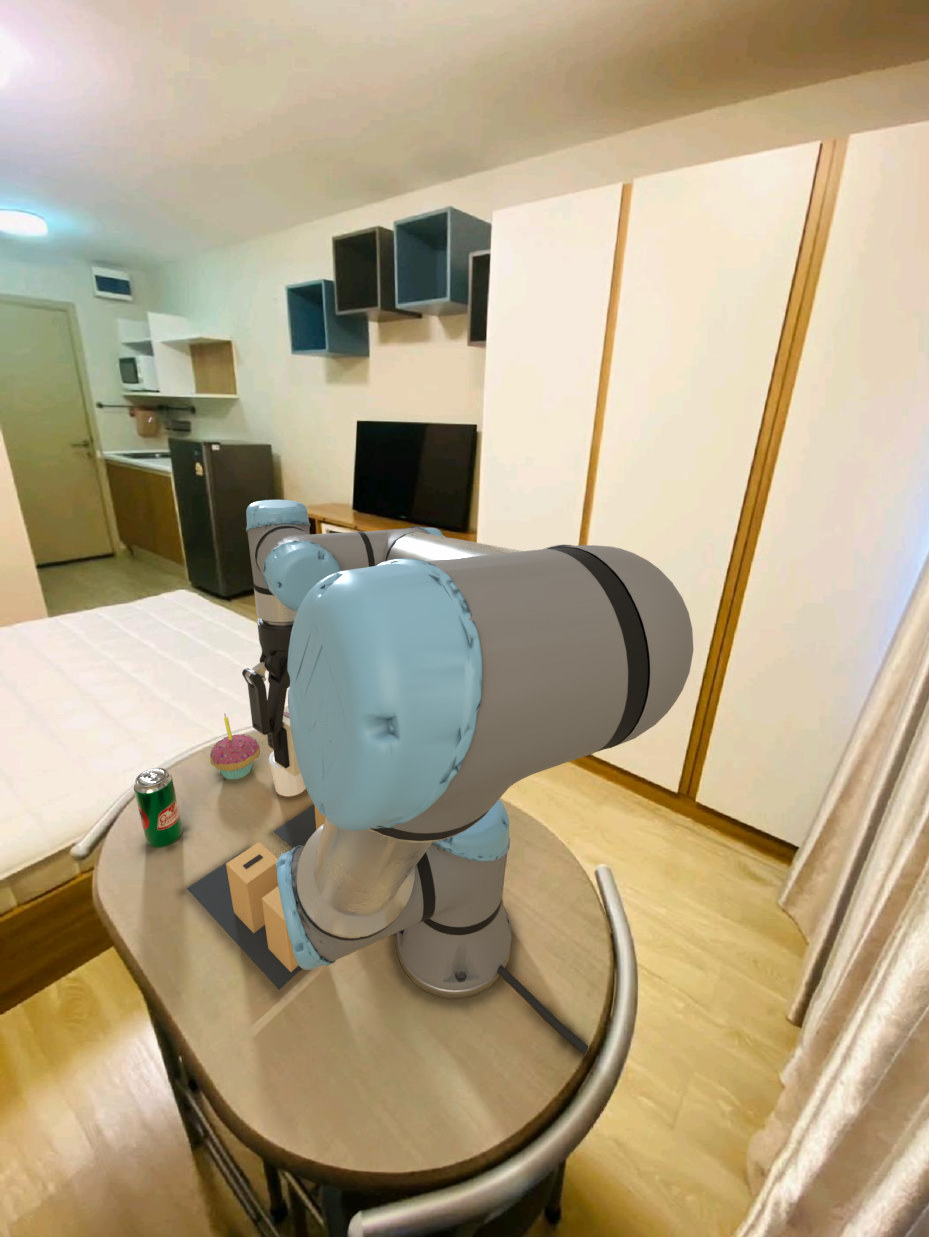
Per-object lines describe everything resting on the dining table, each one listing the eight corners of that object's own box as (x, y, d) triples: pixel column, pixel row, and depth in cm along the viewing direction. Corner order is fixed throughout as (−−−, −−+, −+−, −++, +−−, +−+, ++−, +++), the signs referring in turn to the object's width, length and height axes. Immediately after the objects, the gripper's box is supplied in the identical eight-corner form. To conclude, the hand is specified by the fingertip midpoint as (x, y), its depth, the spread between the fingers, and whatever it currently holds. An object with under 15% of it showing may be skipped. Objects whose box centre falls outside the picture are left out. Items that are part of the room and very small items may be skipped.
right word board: (410, 870, 79) (411, 821, 76) (366, 910, 73) (365, 860, 69) (318, 803, 91) (315, 759, 88) (273, 833, 85) (268, 786, 81)
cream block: (320, 761, 81) (317, 711, 78) (294, 776, 78) (290, 725, 74) (301, 749, 84) (297, 700, 80) (275, 763, 80) (270, 713, 77)
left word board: (338, 937, 69) (335, 884, 65) (279, 991, 62) (272, 937, 58) (245, 851, 81) (238, 803, 77) (187, 889, 74) (176, 839, 70)
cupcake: (204, 773, 97) (194, 718, 92) (246, 752, 103) (239, 699, 99) (229, 794, 92) (220, 737, 88) (271, 770, 99) (265, 716, 94)
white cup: (290, 805, 90) (286, 773, 88) (263, 790, 94) (259, 758, 91) (319, 783, 96) (317, 752, 93) (293, 769, 99) (290, 739, 96)
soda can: (167, 853, 80) (154, 790, 75) (139, 846, 81) (123, 784, 76) (190, 829, 84) (178, 769, 80) (162, 823, 85) (149, 763, 81)
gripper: (320, 593, 80) (327, 721, 89) (208, 626, 67) (230, 773, 75) (353, 605, 76) (357, 738, 85) (241, 644, 63) (260, 796, 71)
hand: (297, 754), depth 80 cm, fingers closed on cream block, 5 cm apart
